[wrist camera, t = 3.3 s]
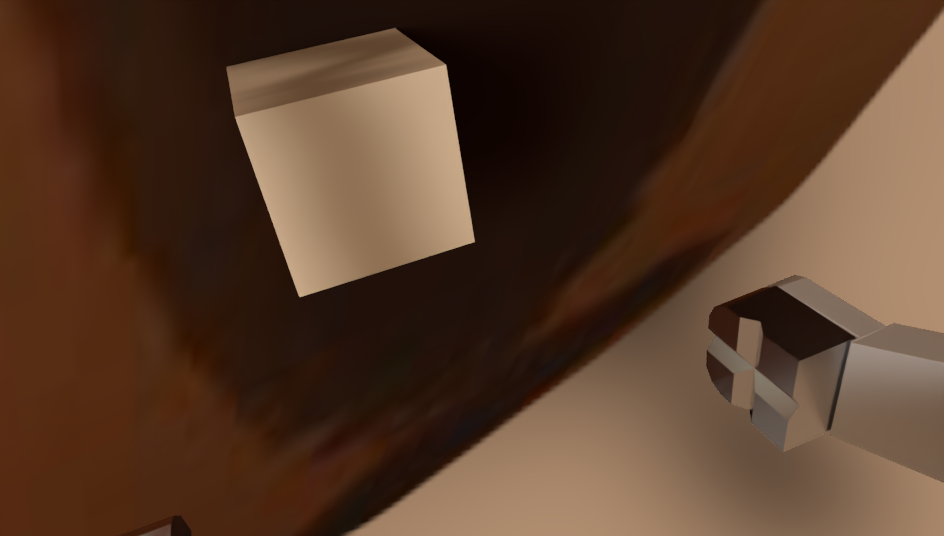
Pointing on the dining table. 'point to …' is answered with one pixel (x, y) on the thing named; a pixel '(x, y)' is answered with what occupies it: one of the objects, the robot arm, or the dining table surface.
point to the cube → (354, 155)
